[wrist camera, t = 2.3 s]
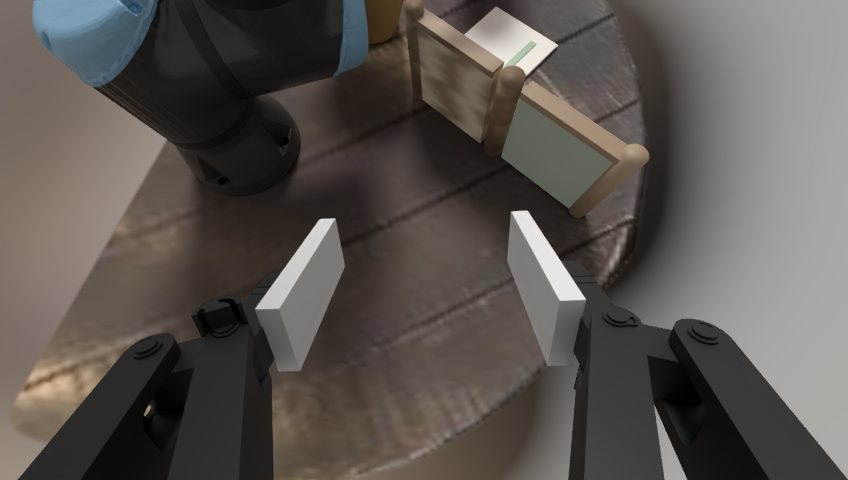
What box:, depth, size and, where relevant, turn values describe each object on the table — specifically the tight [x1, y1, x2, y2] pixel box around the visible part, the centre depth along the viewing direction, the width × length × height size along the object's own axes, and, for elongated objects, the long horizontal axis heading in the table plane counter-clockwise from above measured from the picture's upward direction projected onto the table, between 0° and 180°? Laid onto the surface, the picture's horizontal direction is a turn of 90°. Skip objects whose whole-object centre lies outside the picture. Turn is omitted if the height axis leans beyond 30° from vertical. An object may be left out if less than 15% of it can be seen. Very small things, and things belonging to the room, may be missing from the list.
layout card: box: [464, 7, 558, 77], centre depth 49 cm, size 12×14×1 cm
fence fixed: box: [403, 0, 526, 157], centre depth 40 cm, size 16×3×14 cm, turn 46°
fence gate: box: [501, 81, 649, 218], centre depth 36 cm, size 13×2×13 cm, turn 46°
